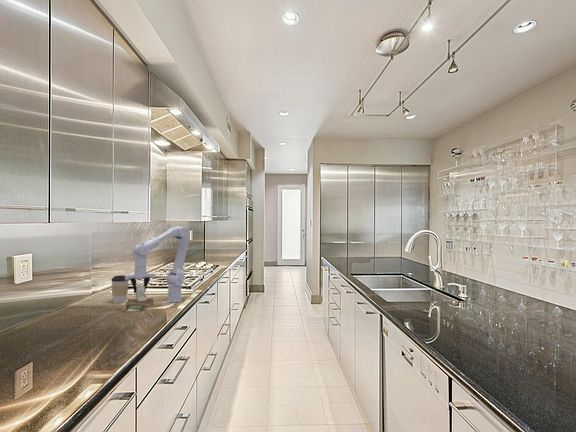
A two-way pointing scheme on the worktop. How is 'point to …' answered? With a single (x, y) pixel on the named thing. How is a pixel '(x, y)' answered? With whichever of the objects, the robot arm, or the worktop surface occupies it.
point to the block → (140, 293)
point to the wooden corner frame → (136, 304)
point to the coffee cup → (119, 289)
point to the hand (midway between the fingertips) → (139, 292)
